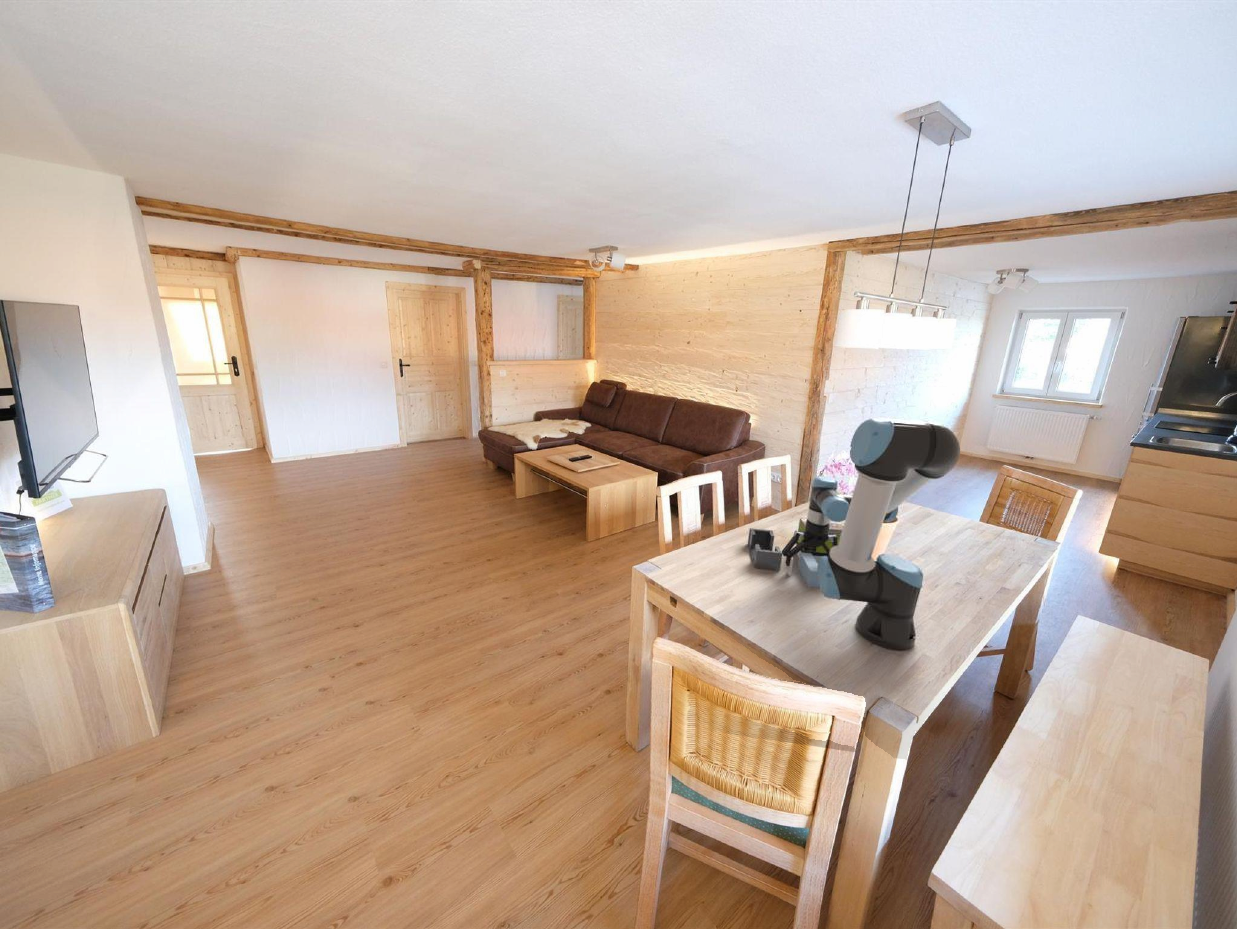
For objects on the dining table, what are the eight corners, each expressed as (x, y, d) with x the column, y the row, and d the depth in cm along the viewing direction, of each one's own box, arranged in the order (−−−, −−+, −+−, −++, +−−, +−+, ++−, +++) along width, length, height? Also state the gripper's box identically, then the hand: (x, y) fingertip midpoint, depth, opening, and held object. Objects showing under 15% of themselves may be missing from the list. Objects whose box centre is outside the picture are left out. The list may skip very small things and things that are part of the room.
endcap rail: (779, 570, 170) (782, 553, 168) (754, 568, 171) (756, 550, 169) (770, 546, 189) (772, 530, 187) (747, 544, 190) (749, 528, 188)
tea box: (833, 554, 184) (839, 520, 180) (842, 567, 175) (849, 530, 170) (793, 551, 185) (799, 516, 181) (800, 563, 176) (807, 527, 172)
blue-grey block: (819, 587, 160) (822, 572, 158) (807, 586, 160) (810, 571, 158) (808, 567, 173) (811, 553, 171) (797, 566, 173) (800, 552, 172)
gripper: (852, 520, 163) (841, 574, 169) (778, 513, 165) (770, 566, 172) (860, 528, 155) (848, 585, 162) (783, 521, 158) (774, 577, 165)
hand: (808, 575), depth 167 cm, fingers open, 13 cm apart
